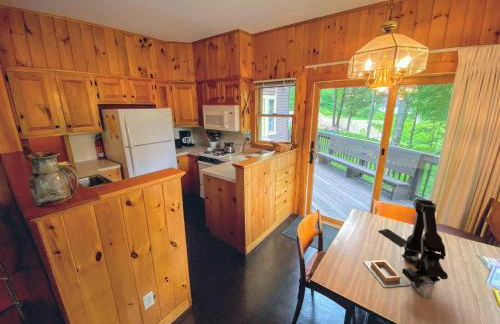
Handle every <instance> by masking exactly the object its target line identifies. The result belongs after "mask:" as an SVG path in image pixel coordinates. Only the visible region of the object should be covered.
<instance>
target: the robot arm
mask: <svg viewBox="0 0 500 324" xmlns="http://www.w3.org/2000/svg"><path fill="white" fill-rule="evenodd" d="M412 205H413V208H414V210H415V212H416V213H415V218H414V223H413V228H412V232H411V235H409V236H408V237H406V238H407V239H406V241H405V242H404V244H403V249H404V252H403V253H402V254H401V256H402V257H403V258H404V259H405V263H407V264H409V265H412V266H413V268H414V269H416V270H414V269H413V268H410V267H407V268H402V271H401V272H402V274H403V275H404V277H406V278H407V279H408V281H410V282H411V281H412V282H414V283H415V287H416V288H419V287H420V286H421V284H422V283H423V282H424V281H423V280H422V277H429V278H430V279H431V280H432V281H433V282H434V283H435V284H436V283H438V282H440V281H442V280H448V278H449V275H448V273H447V272H446V271H444V268H443V266H442V264H441V262H440V260H445V257H446V255H447V254H446V246H445V243H444V242H443V239H442V236H441V235H440V234H439V232H438V228H437V221H436V219H437V218H436V210H437V209H436V207H437V205H436V204H435V203H434V202H433V201H432V200H429V199H424V198H423V199H422V198H416V199H414V200H413V203H412ZM423 233H424V234H423ZM419 255H420V257H419ZM415 271H416V272H415Z"/></svg>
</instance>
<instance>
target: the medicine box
mask: <svg viewBox="0 0 500 324" xmlns="http://www.w3.org/2000/svg"><path fill="white" fill-rule="evenodd" d="M414 271H415V272H416V271H417V270H414ZM422 280H423V281H424V282H423V283H422V284H421V286H420V287H419V288H416V287H415V283H414V282H412V281H410V283H409V285H410V286H411V287H412V289H414V290H415V291H416V292H417V293H418V294H419V295H420V296H422V298H431V297H432V296H433V292H434V289H435V285H436V283H434V282H433V281H432V280H431V279H430V278H429V277H422Z"/></svg>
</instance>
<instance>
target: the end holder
mask: <svg viewBox="0 0 500 324" xmlns="http://www.w3.org/2000/svg"><path fill="white" fill-rule="evenodd" d="M362 263H363V264H364V265H365V266H366V268H367V269H368V270H369V271H370V273H371V274H372V275H373V276H374V278H375V279H376V280H377V281H378V283H379V284H381V286H382V287H383V288H384V289H385V288H397V287H398V288H401V287H409V286H411V284H410V283H408V281H406V279H405V278H404V277H403V276H402V275H401V274H400V273H399V272H398V271H397V270H396V269H395V268H394V267H393V266H392V265H391V264H390V263H389V262H388V261H387V260H386V259H380V260H379V259H377V260H364V261H362Z"/></svg>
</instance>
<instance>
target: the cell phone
mask: <svg viewBox="0 0 500 324" xmlns="http://www.w3.org/2000/svg"><path fill="white" fill-rule="evenodd" d="M378 233H379V234H381V235H382V236H384V237H385V238H387V239H388V240H390V241H391V242H393V243H395V245H397V246H399V247H400V248H404V246H403V244H404V242H405V241H407V239H404V238H403V237H401V236H400V235H399V234H397V233H395V232H393V231H392V230H391V229H389V228H386V229H380V230H378Z"/></svg>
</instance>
